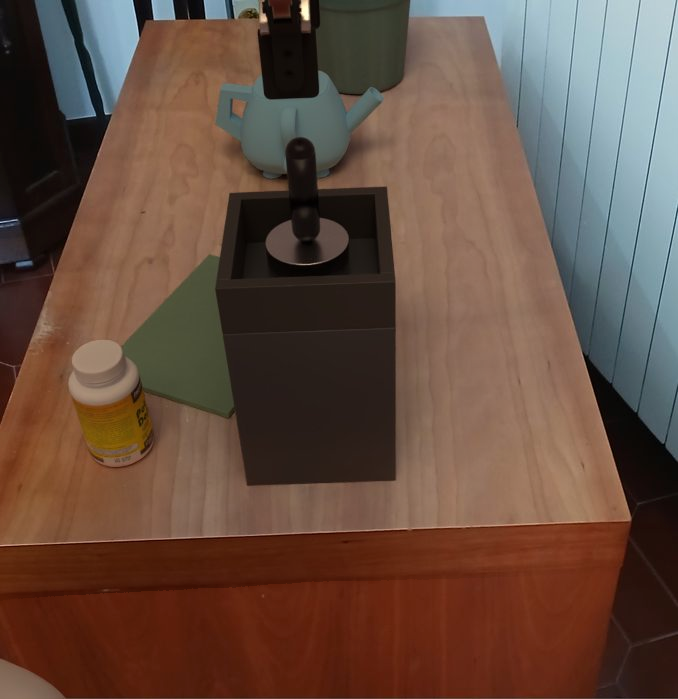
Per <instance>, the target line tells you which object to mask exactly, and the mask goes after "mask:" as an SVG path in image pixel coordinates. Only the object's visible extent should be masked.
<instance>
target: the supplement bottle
mask: <svg viewBox="0 0 678 699" xmlns="http://www.w3.org/2000/svg"><path fill="white" fill-rule="evenodd" d="M121 346H122V345H120V344H119V343H118V342H116V341H115V340H111V339H95V340H92V341H87V342H86V343H84V344H82V345H81V346H80V347H78V348H77V349H76V350H75V352H74V353H73V354H72V357H71V365H72V368H73V369H72V372H71V373H70V375H69V378H68V382H67V385H68V386H67V387H68V391H69V394H70V397H71V400H72V403H73V407H74V409H75V410H74V411H75V413H76V415H77V419H78V422H79V425H80V428H81V431H82V435H83V437H84V440H85V443H86V447H87V450H88V452H89V455H90V456H91V457H92V458H93V460H94V461H95V462H96V463H98V464H100V465H102V466H105V467H110V468H120V467H126V466H129V465H132V464H134V463H135V464H136V462H138V461H140V460H142V459H143V458H145V456H146V455H147V454H148V453H149V452H150V450H151V448H152V446H153V444H154V441H155V433H154V428H153V424H152V420H151V417H150V412H149V409H148V404H147V399H146V395H145V391H143V387H142V383H141V379H140V375H139V372H138V369H137V367H136V365H135V364H134V362H133V361H131V360H130V359H129V358H127V357H125V356H124V354H123V350H122V348H121Z"/></svg>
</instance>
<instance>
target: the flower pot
mask: <svg viewBox="0 0 678 699" xmlns="http://www.w3.org/2000/svg"><path fill="white" fill-rule="evenodd" d="M319 8H320V26H319V27H318V28H317V29H316V42H317V59H318V70H319V71H322V72H324V73H326V74H327V75H328V76H329V78H330V79H331V80H332V82H333V84H334V85H335V87H336V89H337V91H338V92H339V94H346V95H363V94H364V93H365V92H366V91H367V90H368V89H369V88H370V87H373V88H375V89H376V90H378V91H379V92H380V93H381V92H383V91H386V90H388V89H391V88H392V87H395V86H396V85H397V84H399V83H400V82H401V80H402V79H403V78H404V74H405V67H406V66H405V64H406V55H407V54H406V53H407V44H408V33H409V32H408V31H409V19H410V12H411V10H410V9H411V0H319Z"/></svg>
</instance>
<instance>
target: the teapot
mask: <svg viewBox="0 0 678 699" xmlns="http://www.w3.org/2000/svg"><path fill="white" fill-rule="evenodd" d="M318 75H319V94H318V96H317V97H314V98H298V99H276V100H269V99H267V98H266V97H265V96H264V90H263V81H262V74H260V75H259V76H258V77H257V78H256V79H255V81H254V83H253V85H245V84H237V83H227V82H222V84H221V87H220V89H219V95H218V101H217V109H216V117H215V124H214V125H216V126H217V127H218V128H220V129H221V130H223V131H225V133H227V134H229V135H230V136H232V137H233V138H235V139H236V140H238V141H239V142H240V147H241V152H242V153H243V155H244V157H245V158H246V159H247V161H248V162H249V163H250V164H251V165H252V166H253V167H255V169H258V170H260V171H262V172H263V173H262V176H263V177H264V178H266V179H277V178H280V177H281V176H282V175H287V167H286V155H285V150H286V146H287V144H288V143H289V141H290V140H292V139H293V138H296V137H305V138H307V139H309V140H310V141H311V142H312V143H313V145H314V147H315V153H316V169H317V179H318V178H321V179H322V178H324V177H327V176H329V175H330V170H329V169H331V168H333V167H334V166H335V167H336V165H337V164H338V163H339V162H340V161H341V160H342V158H343V157H344V155H345V154H346V152H347V150H348V148H349V145H350V141H351V135H352V133H353V132H354V131H355V130H356V129H357V128H358V127H359V126H360V125H361V124H362V123H363V122H364V121H365V120H366V119H367V118H368V117H369V116H370V115H371V114H372V113H373V112H374V111H375V110H376V109H377V108H378V107H379V106H381V104H382V103H384V101H385V98H384V96H383V94H382V93H381V91H380V92H379V91H378V90H376V89H375V88H373V87H370V88H369V89H368V90H367V91H366V92H365V93H364V94H362V95H361V96H360V98H358V99H357V101H356V102H354V104H353V105H352V106H351V108H349V110H348V111H347V110H346V109H347V108H346V107H345V103H344V101H343V99H342V97H341V95H340V94H341V93H340V92H338V91H337V89H336V87H335V85H334V84H333V82H332V80H331V79H330V78H329V76H328V75H327V74H326V73H324V72H322V71H319V70H318ZM234 100H235V101H240V102H246V103H245V106H244V110H243V112H242V117H241V116H239V115H238V114H236V113H234V112H233V103H234Z"/></svg>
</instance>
